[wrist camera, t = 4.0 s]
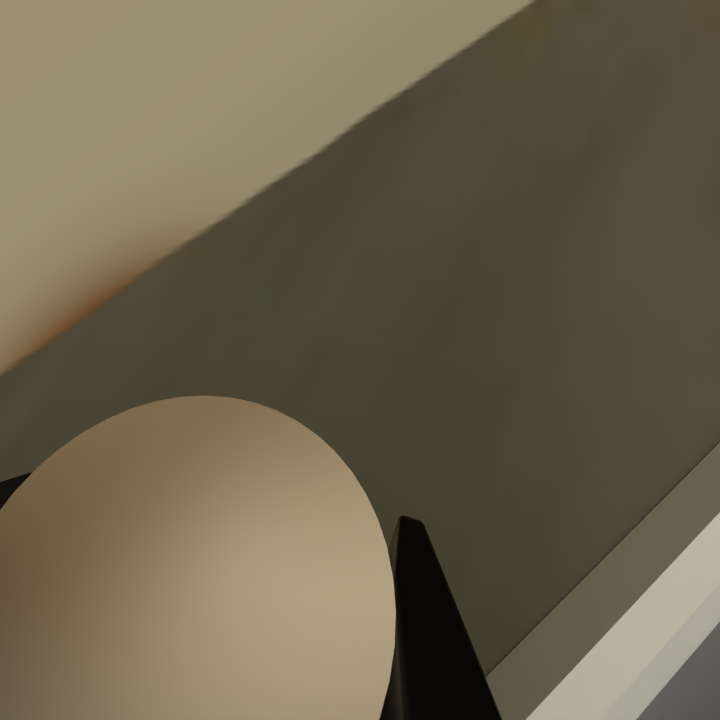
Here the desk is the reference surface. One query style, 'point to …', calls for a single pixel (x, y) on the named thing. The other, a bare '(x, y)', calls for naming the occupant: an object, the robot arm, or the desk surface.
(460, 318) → the desk surface
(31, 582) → the beige domed cylinder
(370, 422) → the desk surface
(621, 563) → the housing
